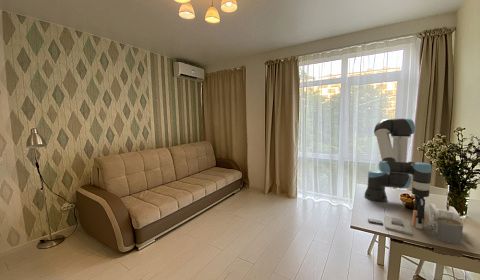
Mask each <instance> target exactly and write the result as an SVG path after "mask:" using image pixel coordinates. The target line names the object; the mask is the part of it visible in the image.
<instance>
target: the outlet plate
mask: <svg viewBox="0 0 480 280" xmlns="http://www.w3.org/2000/svg"><path fill="white" fill-rule="evenodd" d="M384 224H385V226H384V227H385V229H386V230H390V231H392V232H393V231H394V232H398V233H402V234H405V235H409V236H413V233H414V232H413V230H412V227H411V224H410V221H409V220H406V219H401V218H397V217H393V216H390V215H389V216H388V215H384ZM393 224H395V225H393ZM396 225H398V226H396ZM400 226H402V227H400Z"/></svg>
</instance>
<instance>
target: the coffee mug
mask: <svg viewBox="0 0 480 280" xmlns="http://www.w3.org/2000/svg"><path fill="white" fill-rule="evenodd" d="M432 224H434V225H435V228H431V227H432ZM426 228H427V230H428V231H430V232H431V233H433V236H434V237H435V238H437V239H438V240H440V241H442V242H445V243H447V244H451V245H452V244H453V245H461V244H462V238H463V237H462V236H463V228H464V223H462V222H461V220H459V221H458V220H455V219H452V218H449V217H443V216H437V217H436V218H435V221H430V220H428V222H427V223H426Z"/></svg>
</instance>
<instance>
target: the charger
mask: <svg viewBox="0 0 480 280" xmlns="http://www.w3.org/2000/svg"><path fill="white" fill-rule="evenodd" d="M415 216H417V210H415V209H413V210H412V219H411V220H412V221H411V222H412V226H413V227H415V228H416V217H415ZM424 223H425V218H424V219H423V224H422V229H424V226H425V225H424Z"/></svg>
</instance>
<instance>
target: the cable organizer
mask: <svg viewBox="0 0 480 280" xmlns="http://www.w3.org/2000/svg"><path fill="white" fill-rule="evenodd" d="M428 207H429V211H428V219H429V220H428V221H435V218H436V217H437V216H443V217H449V218H452V219H455V220H458V221H461V220H460V217H461V216H460V213H458V211H457V210H456V208H455V207H454V206H449V207H448V210H446V209H441V208H438V207H437V206H436V205H435V203H432V202H431V203H429V206H428ZM431 227H432V229H434V228H435V225H434V224H432V225H431Z"/></svg>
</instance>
